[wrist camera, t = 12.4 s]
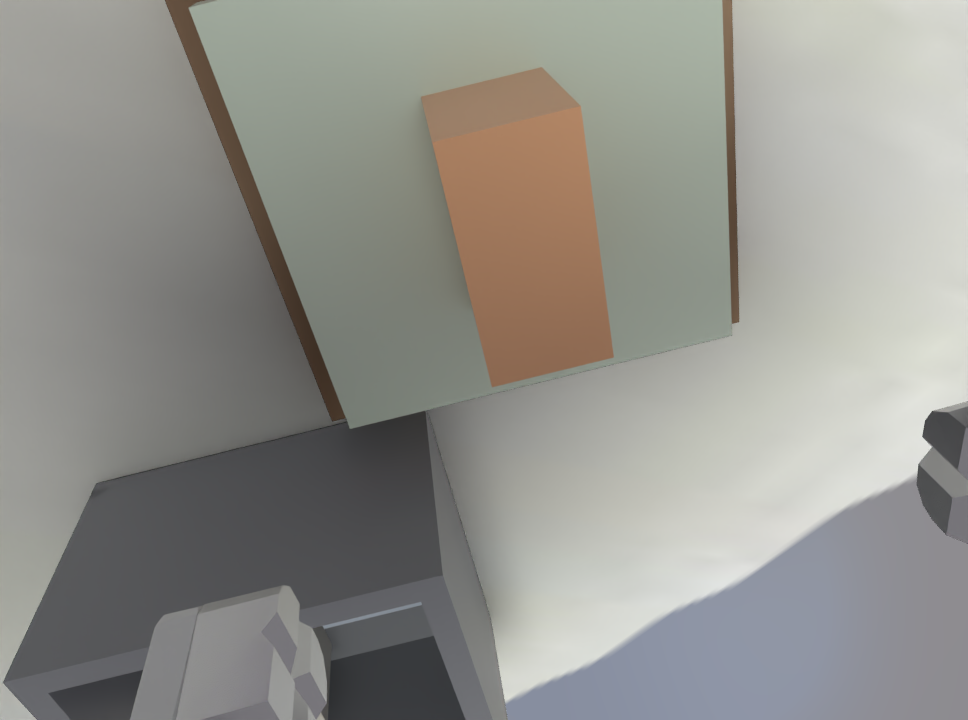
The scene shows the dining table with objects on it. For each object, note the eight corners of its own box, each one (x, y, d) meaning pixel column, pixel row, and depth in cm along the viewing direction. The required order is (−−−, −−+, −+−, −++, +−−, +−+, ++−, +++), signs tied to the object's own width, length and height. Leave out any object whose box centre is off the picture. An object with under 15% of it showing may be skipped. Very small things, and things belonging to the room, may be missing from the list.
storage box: (226, 683, 33) (188, 885, 26) (95, 483, 27) (3, 682, 20) (490, 618, 33) (521, 803, 26) (424, 403, 27) (442, 575, 20)
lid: (351, 392, 25) (346, 520, 20) (205, -3, 18) (141, 36, 13) (707, 305, 25) (794, 411, 20) (686, -121, 18) (807, -127, 13)
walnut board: (333, 401, 26) (332, 421, 25) (159, -46, 19) (148, -42, 18) (725, 305, 26) (739, 321, 25) (708, -180, 19) (727, -184, 18)
